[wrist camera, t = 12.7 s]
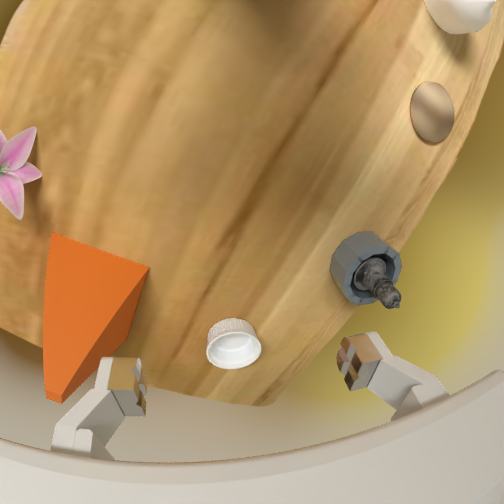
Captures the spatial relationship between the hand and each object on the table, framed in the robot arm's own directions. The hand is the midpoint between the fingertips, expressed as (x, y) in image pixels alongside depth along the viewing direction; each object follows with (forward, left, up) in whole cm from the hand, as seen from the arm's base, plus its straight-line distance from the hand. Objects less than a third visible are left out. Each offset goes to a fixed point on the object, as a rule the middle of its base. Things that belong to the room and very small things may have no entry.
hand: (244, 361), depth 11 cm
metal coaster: (-12, +34, -29) cm, 46 cm away
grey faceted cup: (+14, +24, -29) cm, 40 cm away
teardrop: (-33, +37, -29) cm, 58 cm away
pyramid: (+17, -19, -30) cm, 39 cm away
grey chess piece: (+14, +24, -29) cm, 40 cm away
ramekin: (+27, +3, -30) cm, 40 cm away
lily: (-5, -26, -29) cm, 40 cm away
